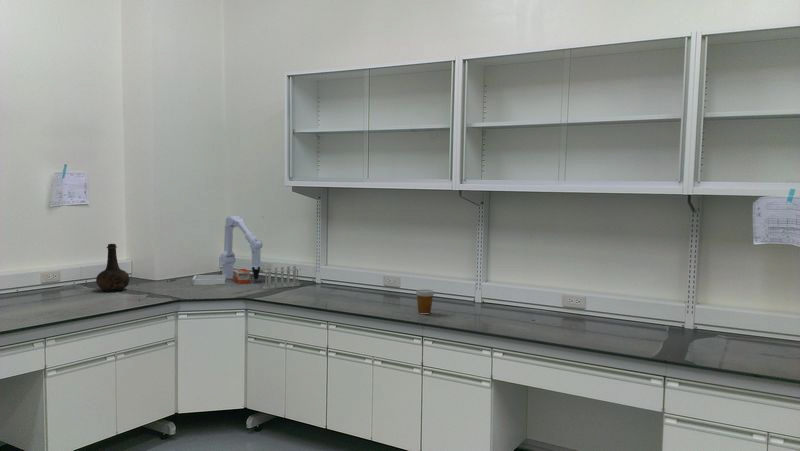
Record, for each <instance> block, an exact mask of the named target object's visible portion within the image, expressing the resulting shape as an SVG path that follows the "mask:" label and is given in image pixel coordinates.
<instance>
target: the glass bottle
mask: <svg viewBox="0 0 800 451" xmlns="http://www.w3.org/2000/svg"><path fill="white" fill-rule="evenodd" d="M105 248H106V249H107V260H106V261H107V262H106V267H105V269H104V270H102V271H100V272H99V273H98V274H97V276H96V278H95V279H96V280H95V282H96V286H98V288H99V289H101V290H102V291H104V292H118V291H122V290H124V289H125V288H127V287H128V285H129V283H130V281H131V280H130V275H129V273H128V272H126V271H125V270H123V269H121V268H120V266H119V263H118V257H117V248H118V246H117V243H116V244H115V243H108V244H107V246H106V247H105Z"/></svg>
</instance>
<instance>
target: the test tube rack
mask: <svg viewBox="0 0 800 451" xmlns="http://www.w3.org/2000/svg"><path fill="white" fill-rule="evenodd" d="M301 270H302V269H301V268H297V267H296V265H293V266H292V268H291V267H290V265H287V266H286V269H285V268H284V266H280V269H278V266H275V267H274V270H272V268H271V267H268V268H267V270H262V272H263V273H264V274H265V286H263V287H262V289H263V290H271V289H281V288H289V287H290V288H291V287H293V288H294V287H300V286H302V285H301V283H299V271H301ZM291 271H292V284H290V279H291V276H290V275H291V274H290V273H291ZM278 272H280V285H278ZM284 272H286V284H284ZM272 273H274V284H273V285H272Z"/></svg>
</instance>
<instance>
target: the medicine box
mask: <svg viewBox="0 0 800 451" xmlns="http://www.w3.org/2000/svg"><path fill="white" fill-rule="evenodd" d="M250 276H251V274H250V270H247V269H245V268H238V269H237V268H236V269H234V268H233V278H232V281H233V282H234V283H236V284H237V285H241V284H250V281H251V280H250Z"/></svg>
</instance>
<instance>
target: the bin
mask: <svg viewBox="0 0 800 451" xmlns="http://www.w3.org/2000/svg"><path fill="white" fill-rule="evenodd" d="M191 280H192V281H191V282H192V283H191V285H192V286H209V285H211V286H214V285H215V284H226V282H225V281H226V275H222V274H203V275H202V274H200V275H199V274H198V275H196V274H195V275H194V276H193V277H192V279H191ZM215 286H216V285H215Z"/></svg>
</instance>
